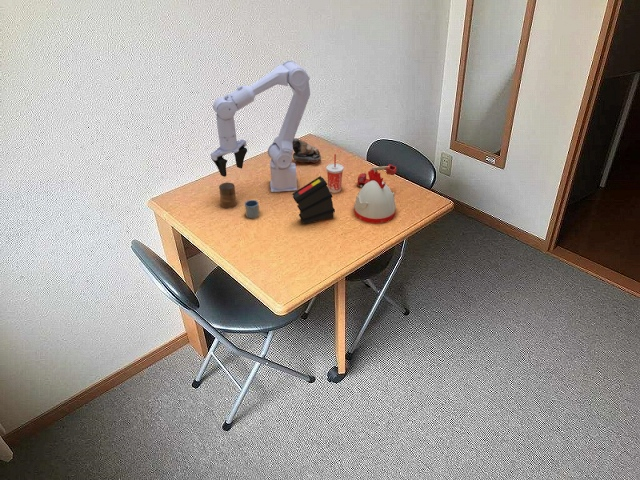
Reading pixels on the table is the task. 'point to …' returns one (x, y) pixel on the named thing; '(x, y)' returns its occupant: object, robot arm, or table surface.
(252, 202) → the plastic cup
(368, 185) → the kitchen timer
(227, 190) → the walnut chip
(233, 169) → the table surface
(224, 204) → the oak chip bottom
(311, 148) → the bison figurine
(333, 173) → the beverage cup
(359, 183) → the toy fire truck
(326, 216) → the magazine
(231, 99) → the robot arm
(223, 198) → the disc
